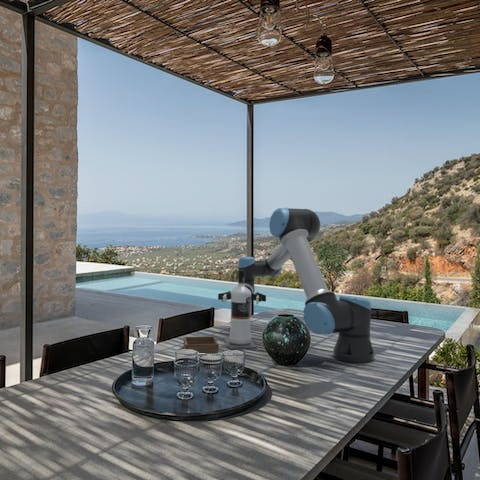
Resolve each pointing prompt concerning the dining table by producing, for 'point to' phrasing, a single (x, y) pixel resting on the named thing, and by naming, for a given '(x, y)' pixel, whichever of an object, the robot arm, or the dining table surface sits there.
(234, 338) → the vodka
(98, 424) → the dining table surface
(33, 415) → the dining table surface
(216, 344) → the bottle well
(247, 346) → the slate board
